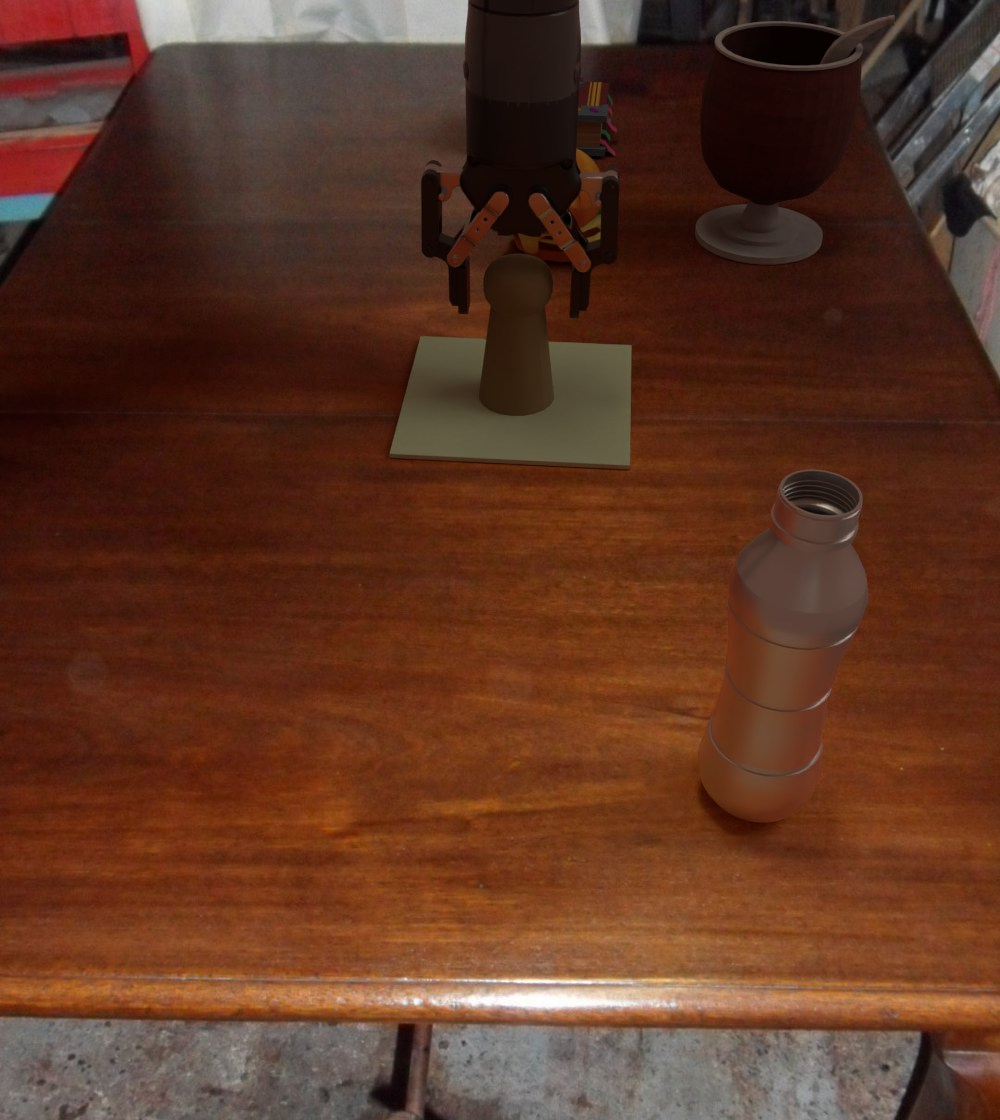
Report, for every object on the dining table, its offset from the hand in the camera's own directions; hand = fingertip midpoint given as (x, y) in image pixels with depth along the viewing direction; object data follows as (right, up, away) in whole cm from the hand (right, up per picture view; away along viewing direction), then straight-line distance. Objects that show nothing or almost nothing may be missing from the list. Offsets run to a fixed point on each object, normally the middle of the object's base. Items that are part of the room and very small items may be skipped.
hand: (518, 311), depth 89 cm
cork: (0, -5, +5) cm, 7 cm away
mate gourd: (+25, +16, +27) cm, 40 cm away
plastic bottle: (+13, -35, -23) cm, 44 cm away
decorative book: (+4, +35, +45) cm, 57 cm away
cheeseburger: (+4, +14, +25) cm, 29 cm away
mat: (0, -5, +5) cm, 8 cm away
